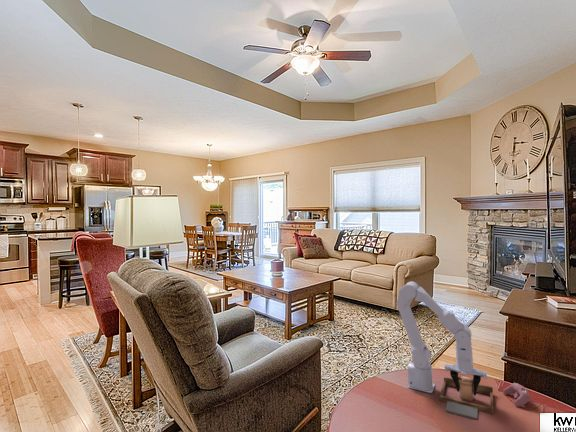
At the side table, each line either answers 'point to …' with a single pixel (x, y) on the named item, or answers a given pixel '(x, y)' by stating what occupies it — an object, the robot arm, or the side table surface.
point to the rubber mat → (462, 410)
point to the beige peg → (466, 388)
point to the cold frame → (480, 389)
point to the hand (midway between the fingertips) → (466, 392)
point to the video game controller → (518, 394)
